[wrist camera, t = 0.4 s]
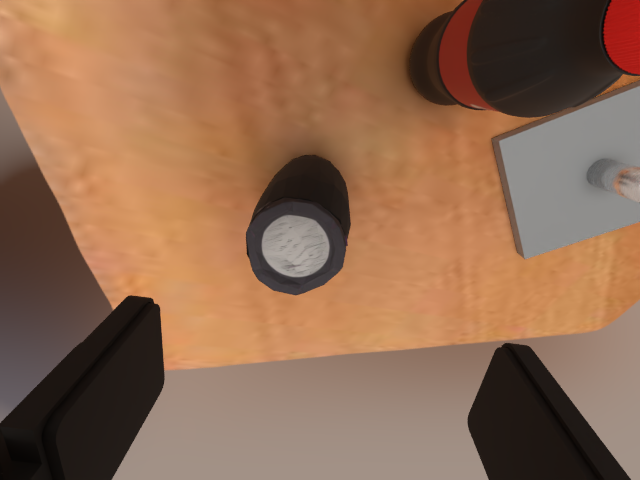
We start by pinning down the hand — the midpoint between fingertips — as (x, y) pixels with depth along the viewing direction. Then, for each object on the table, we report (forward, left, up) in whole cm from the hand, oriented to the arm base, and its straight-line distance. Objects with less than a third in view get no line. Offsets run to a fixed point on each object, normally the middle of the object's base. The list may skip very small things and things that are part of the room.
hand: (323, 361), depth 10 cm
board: (+14, +28, -36) cm, 47 cm away
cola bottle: (-4, +15, -36) cm, 39 cm away
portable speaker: (+3, -4, -36) cm, 36 cm away
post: (+14, +28, -34) cm, 46 cm away
